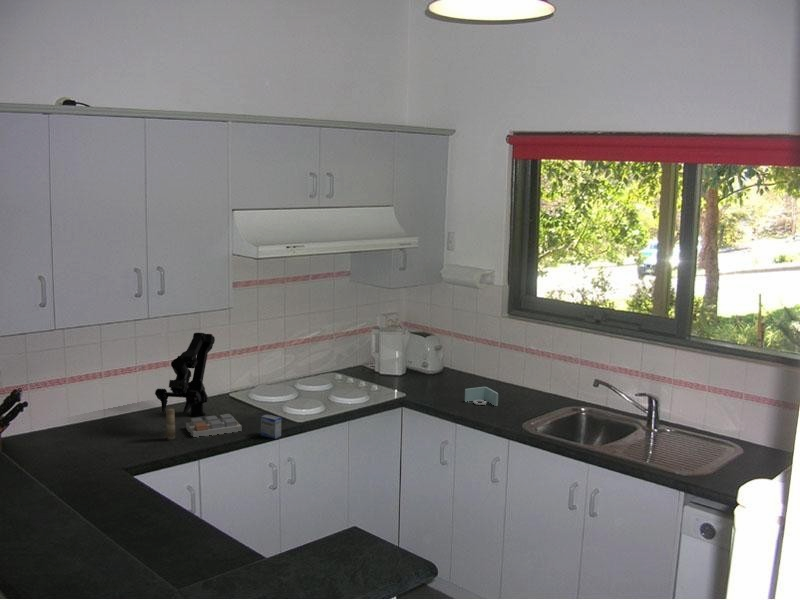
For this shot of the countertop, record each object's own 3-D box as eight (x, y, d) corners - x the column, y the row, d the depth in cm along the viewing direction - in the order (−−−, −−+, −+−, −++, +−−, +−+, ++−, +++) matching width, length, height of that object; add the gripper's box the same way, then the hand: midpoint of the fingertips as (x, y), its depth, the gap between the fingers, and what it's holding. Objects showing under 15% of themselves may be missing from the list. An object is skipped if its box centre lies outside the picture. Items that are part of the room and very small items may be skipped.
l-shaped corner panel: (464, 403, 413) (465, 388, 411) (485, 400, 418) (485, 386, 416) (476, 410, 402) (477, 395, 401) (497, 407, 407) (498, 393, 406)
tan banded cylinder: (165, 438, 350) (165, 409, 348) (174, 437, 352) (173, 408, 349) (167, 441, 347) (167, 411, 345) (176, 440, 349) (175, 410, 346)
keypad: (186, 428, 363) (186, 418, 362) (232, 422, 373) (232, 412, 372) (193, 438, 352) (193, 427, 351) (241, 431, 361) (241, 421, 361)
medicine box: (260, 435, 357) (260, 416, 356) (266, 432, 361) (266, 413, 359) (275, 439, 354) (275, 419, 352) (281, 436, 357) (281, 416, 356)
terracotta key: (194, 428, 357) (194, 423, 356) (204, 427, 359) (204, 421, 358) (197, 432, 353) (196, 426, 353) (207, 430, 355) (207, 425, 355)
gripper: (156, 370, 354) (146, 402, 345) (198, 372, 352) (190, 405, 343) (163, 383, 363) (154, 415, 354) (204, 385, 361) (196, 417, 352)
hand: (173, 413), depth 351 cm, fingers open, 9 cm apart
